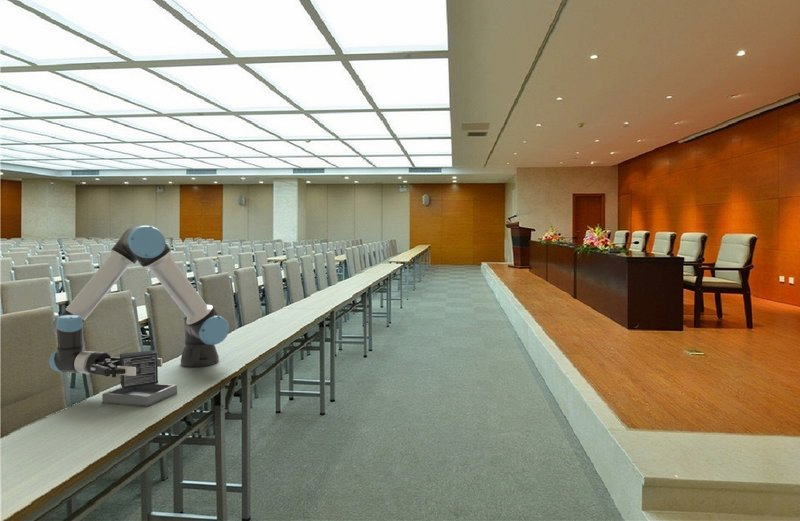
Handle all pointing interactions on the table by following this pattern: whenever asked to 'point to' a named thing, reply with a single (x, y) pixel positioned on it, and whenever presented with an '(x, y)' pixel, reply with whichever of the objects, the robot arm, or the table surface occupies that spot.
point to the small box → (140, 368)
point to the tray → (140, 394)
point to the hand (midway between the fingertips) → (149, 366)
